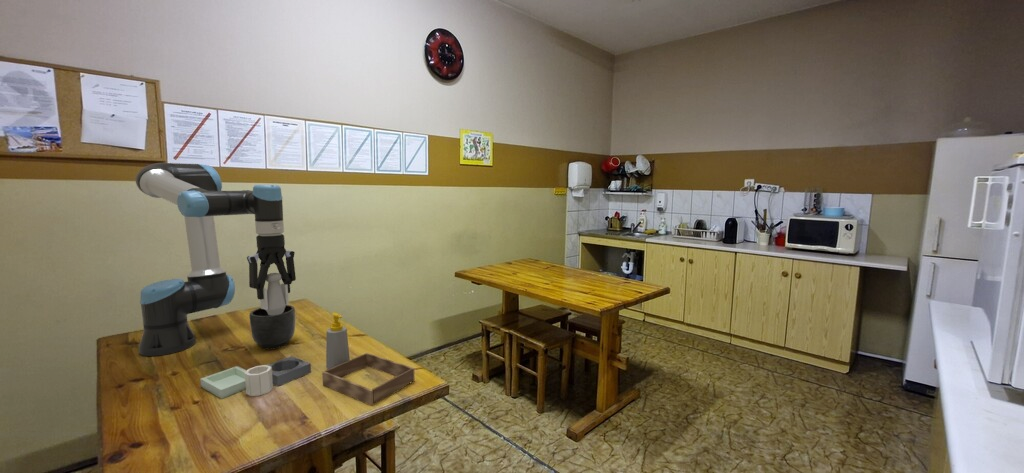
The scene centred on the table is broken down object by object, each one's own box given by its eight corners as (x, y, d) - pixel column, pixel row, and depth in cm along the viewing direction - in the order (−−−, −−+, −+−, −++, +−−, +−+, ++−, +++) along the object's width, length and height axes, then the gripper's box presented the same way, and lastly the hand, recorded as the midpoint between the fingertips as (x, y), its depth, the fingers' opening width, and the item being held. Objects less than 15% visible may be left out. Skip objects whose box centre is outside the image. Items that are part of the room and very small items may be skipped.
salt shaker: (276, 316, 125) (273, 276, 123) (260, 315, 126) (257, 275, 124) (290, 311, 131) (287, 272, 129) (275, 309, 132) (272, 271, 130)
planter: (300, 336, 153) (298, 303, 151) (292, 350, 140) (290, 314, 138) (258, 340, 148) (255, 306, 147) (246, 355, 135) (243, 318, 134)
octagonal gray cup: (242, 392, 111) (241, 371, 111) (265, 383, 116) (263, 363, 116) (254, 398, 108) (252, 377, 107) (276, 388, 113) (275, 368, 113)
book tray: (322, 385, 116) (322, 371, 115) (367, 364, 129) (367, 352, 128) (371, 405, 105) (371, 391, 105) (414, 381, 118) (414, 368, 118)
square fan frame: (259, 377, 120) (258, 367, 119) (292, 364, 128) (291, 355, 128) (278, 386, 115) (277, 375, 114) (311, 372, 123) (310, 362, 123)
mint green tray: (201, 387, 114) (200, 378, 114) (237, 373, 122) (237, 366, 122) (221, 398, 108) (220, 390, 107) (258, 384, 116) (258, 375, 116)
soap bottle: (332, 376, 121) (329, 319, 119) (322, 369, 126) (319, 313, 123) (354, 368, 126) (352, 313, 124) (344, 362, 131) (341, 309, 128)
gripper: (244, 238, 115) (249, 316, 118) (306, 232, 131) (309, 300, 134) (230, 236, 119) (236, 311, 122) (292, 230, 135) (296, 297, 138)
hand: (275, 306), depth 128 cm, fingers closed on salt shaker, 6 cm apart
